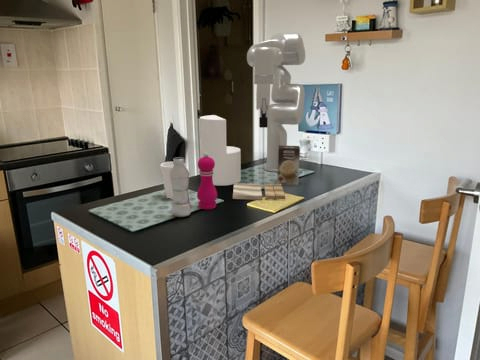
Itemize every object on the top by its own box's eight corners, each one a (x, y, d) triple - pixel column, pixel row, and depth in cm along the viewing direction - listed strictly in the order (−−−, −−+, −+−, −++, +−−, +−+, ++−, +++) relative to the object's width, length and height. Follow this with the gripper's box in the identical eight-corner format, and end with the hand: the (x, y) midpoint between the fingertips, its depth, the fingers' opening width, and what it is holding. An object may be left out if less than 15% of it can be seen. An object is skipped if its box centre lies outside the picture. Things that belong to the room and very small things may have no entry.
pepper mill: (202, 211, 140) (200, 155, 135) (194, 205, 147) (192, 151, 141) (220, 208, 144) (219, 153, 138) (212, 202, 150) (211, 149, 144)
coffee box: (277, 185, 171) (277, 148, 166) (277, 181, 177) (277, 145, 173) (298, 185, 170) (300, 148, 166) (298, 181, 176) (299, 145, 172)
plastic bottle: (183, 220, 132) (180, 161, 127) (167, 216, 136) (164, 159, 130) (195, 214, 137) (193, 157, 132) (180, 211, 141) (177, 155, 135)
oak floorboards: (263, 188, 167) (264, 184, 166) (281, 188, 167) (281, 184, 166) (265, 200, 152) (265, 196, 151) (284, 200, 151) (285, 196, 151)
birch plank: (233, 186, 167) (234, 183, 166) (260, 187, 167) (260, 184, 166) (232, 198, 151) (232, 194, 151) (261, 199, 151) (262, 196, 151)
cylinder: (207, 187, 168) (205, 120, 161) (197, 177, 184) (195, 115, 176) (246, 183, 174) (246, 118, 166) (233, 173, 189) (233, 114, 182)
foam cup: (190, 197, 155) (189, 165, 152) (167, 201, 151) (165, 168, 147) (180, 191, 163) (179, 160, 159) (159, 195, 158) (157, 163, 155)
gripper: (253, 79, 164) (253, 124, 169) (254, 81, 150) (254, 130, 155) (272, 79, 164) (271, 124, 169) (274, 81, 150) (273, 130, 155)
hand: (263, 127), depth 162 cm, fingers closed
